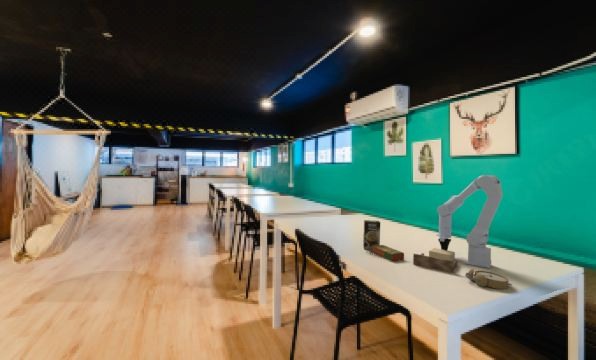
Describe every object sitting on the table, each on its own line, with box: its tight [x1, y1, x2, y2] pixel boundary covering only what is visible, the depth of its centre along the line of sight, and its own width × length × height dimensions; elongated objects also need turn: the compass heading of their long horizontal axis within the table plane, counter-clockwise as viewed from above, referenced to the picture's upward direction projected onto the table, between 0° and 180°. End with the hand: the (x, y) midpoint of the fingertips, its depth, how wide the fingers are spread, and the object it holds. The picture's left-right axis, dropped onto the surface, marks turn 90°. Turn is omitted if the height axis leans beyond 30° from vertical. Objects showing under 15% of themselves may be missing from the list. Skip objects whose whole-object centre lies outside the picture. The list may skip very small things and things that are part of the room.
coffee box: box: [362, 219, 381, 250], centre depth 157 cm, size 9×6×16 cm
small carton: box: [428, 247, 456, 261], centre depth 139 cm, size 10×8×4 cm
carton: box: [371, 244, 405, 262], centre depth 142 cm, size 8×16×4 cm, turn 23°
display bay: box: [412, 252, 458, 274], centre depth 129 cm, size 17×14×5 cm
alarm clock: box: [464, 268, 513, 290], centre depth 107 cm, size 11×5×15 cm
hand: (444, 252), depth 144 cm, fingers closed
